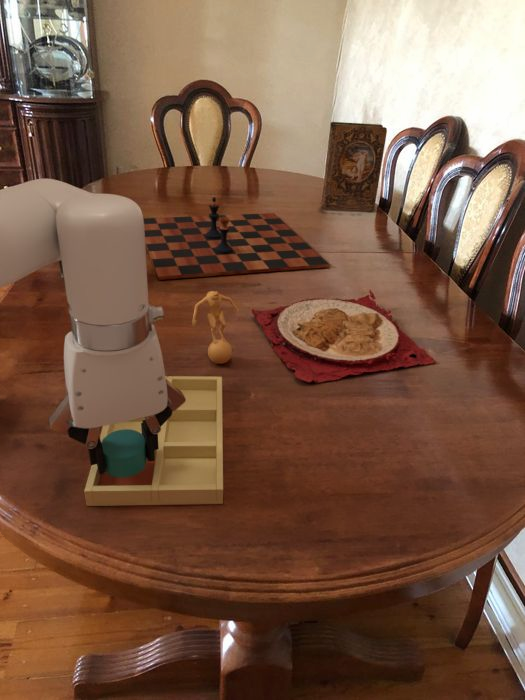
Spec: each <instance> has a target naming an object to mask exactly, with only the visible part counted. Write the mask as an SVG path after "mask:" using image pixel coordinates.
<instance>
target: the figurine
mask: <svg viewBox="0 0 525 700" xmlns="http://www.w3.org/2000/svg"><path fill="white" fill-rule="evenodd" d="M222 301H227V302H229V304H231V306H232V307H233V310H235V311H236V312H237V315H238V317H239V318H241V313H240V310H239V308H238V307H237V305H236V304H235V303H234V301H233V299H232V298H231V297H229V296H225V295H223V294H222V293H221V294H220V293H219V292H218V291H214V290H211V291H208V292H207V293H206V296H204V297H203V298H202V299H201V300H200V301H198V302H197V303H196V304H195V305H194V308H193V309H194V310H193V313H192V314H193V315H192V323H191V324H192V325H191V326H194V327H195V326H196V325H197V324H196V323H198V321H197V320H196V318H197V315H198V308H199V307H201V306H202V305H204V304H206V303H207V306H208V308H209V310H210V312H209V313H207V319H208V323H209V326H210V327H211V328H210V332H211V336H212V341H211V343H210V344H209V346H208V348H207V355H208V358H209V359H210V360H211V362H213V363H215V364H218V365H222V364H226V363H227V362H228V361H230V360H231V358H232V355H233V348H232V345H231V344H230V343H229V342H228V341H227V339H226V338H225V336H224V333H223V331H224V330H225V328H226V327H227V322H226V319H225V316H224V311H223V310H220V309H221V305H222ZM217 320H218V323H219V324H220V325H221V326H219V335H220V338H219V339H217V337H216V333H215V332H216V328H217V327H216V326H217ZM196 327H197V326H196Z"/></svg>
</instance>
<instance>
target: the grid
mask: <svg viewBox="0 0 525 700" xmlns="http://www.w3.org/2000/svg"><path fill="white" fill-rule="evenodd" d="M165 377H166V379H167V380H168V381H169V382H170V383H172V384H173V385H174V386H175V387H176V388H178V389H179V390H180V391H181V392H182V393H183V395H184V397H185V399H186V401H185V402H184V403H183V404H182V405H181V406H180V407H179V408H178V409H177V410H175V411H173V412H172V415H171V417H170V418H169V419H168V420H167V421H166V422H165V423H164V424H163V425H162V426H161V431H160V432H159V433H158V446H159V449H157V450H154V455H155V461H152V462H150V461H148V459H147V463H146V466H145V467H144V469H143V470H142V471H141V472H139V473H138V474H136V475H134V476H131V477H126V478H118V477H113V476H111V475H109V474H108V473H107V472H104V474H100V475H99V471H98V467H97V464H95V465H90V466H91V467H90V470H89V473H88V476H87V480H86V484H85V487H84V490H83V492H84V498H85V503H86V507H107V506H108V507H110V506H111V507H112V506H113V507H114V506H115V507H116V506H117V507H118V506H165V505H166V506H174V505H175V506H176V505H178V506H180V505H223V504H224V442H223V441H224V438H223V437H224V433H223V431H224V430H223V427H224V426H223V423H224V422H223V376H207V375H206V376H204V375H203V376H200V375H199V376H197V375H196V376H195V375H194V376H193V375H190V376H189V375H185V376H184V375H172V376H171V375H170V376H169V375H165ZM142 420H145V419H144V417H143V418H138V419H134V420H129V421H124V422H120V423H115V424H110V425H105V426H102V427H101V431H100V434H99V436H100V440H101V443H102V441H103V439H104V438H105V437H106V436H107V435H108V434H110V433H112V432H114V431H118V430H123V429H130V430H135V431H138V432H139V433H141V434H142V429H141V423H143V422H142Z"/></svg>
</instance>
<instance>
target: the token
mask: <svg viewBox="0 0 525 700" xmlns="http://www.w3.org/2000/svg"><path fill="white" fill-rule="evenodd" d="M101 444H102V448H103V455H104V462H105V470H106V472H107V473H108V474H109V475H111V476H113V477H118V478H126V477H131V476H134V475H136V474H138V473H139V472H141V471H142V470H143V469H144V467H145V466H146V463H147V455H146V442H145V438H144V436H143V435H142V434H141V433H139V432H138V431H135V430H130V429H123V430H118V431H114V432H112V433H110V434H108V435H107V436H106V437H105V438H104V439H103V441H102V443H101Z"/></svg>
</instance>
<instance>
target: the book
mask: <svg viewBox="0 0 525 700" xmlns="http://www.w3.org/2000/svg"><path fill="white" fill-rule="evenodd" d="M387 133H388V129H387V127H385V126H383V124H381V123H380V124H379V123H362V122H361V123H360V122H345V121H344V122H343V121H331V122H330V125H329V133H328V141H327V150H326V160H325V169H324V176H323V177H324V178H323V186H322V195H321V203H320V209H322V210H324V211H336V212H338V211H339V212H355V213H356V212H358V213H359V212H360V213H372V212H373V211H374V210H375V207H376V201H377V194H378V189H379V182H380V178H381V177H380V176H381V171H382V166H383V165H382V164H383V159H384V152H385V146H386V139H387Z"/></svg>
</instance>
